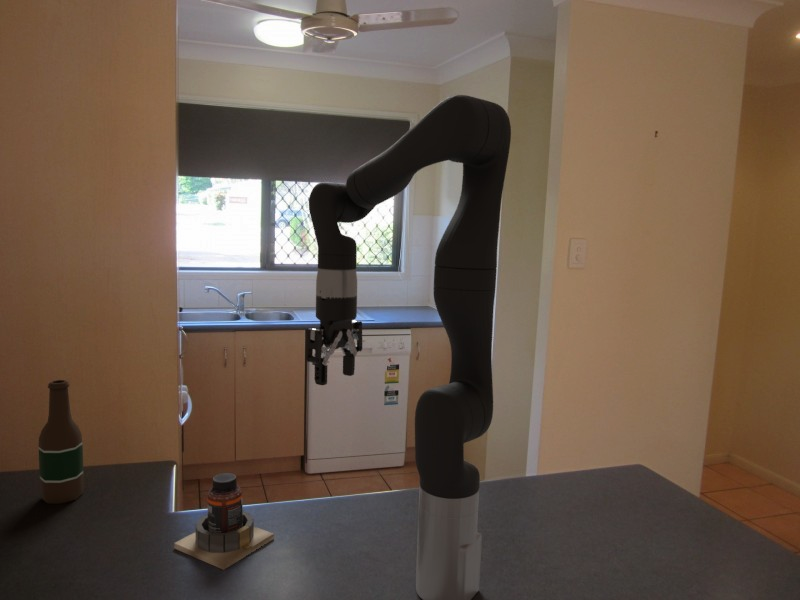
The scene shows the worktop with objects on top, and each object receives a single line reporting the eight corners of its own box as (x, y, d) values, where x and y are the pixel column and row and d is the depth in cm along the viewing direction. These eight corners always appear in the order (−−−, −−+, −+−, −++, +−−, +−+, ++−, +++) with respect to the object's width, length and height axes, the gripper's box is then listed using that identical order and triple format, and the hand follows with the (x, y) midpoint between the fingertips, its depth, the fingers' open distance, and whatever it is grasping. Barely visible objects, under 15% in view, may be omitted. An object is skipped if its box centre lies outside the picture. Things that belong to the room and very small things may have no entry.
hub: (273, 538, 111) (273, 517, 110) (223, 569, 100) (223, 546, 100) (226, 521, 117) (226, 501, 116) (174, 548, 106) (173, 526, 106)
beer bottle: (42, 491, 127) (38, 378, 124) (84, 485, 130) (81, 375, 127) (38, 507, 120) (33, 388, 117) (83, 501, 123) (79, 384, 120)
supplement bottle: (248, 532, 110) (248, 472, 109) (232, 549, 105) (232, 486, 103) (218, 527, 112) (218, 468, 110) (201, 544, 106) (200, 482, 105)
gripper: (342, 289, 120) (341, 369, 122) (295, 294, 108) (294, 384, 110) (374, 292, 116) (372, 375, 118) (329, 298, 104) (328, 391, 106)
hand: (335, 379), depth 114 cm, fingers open, 8 cm apart
